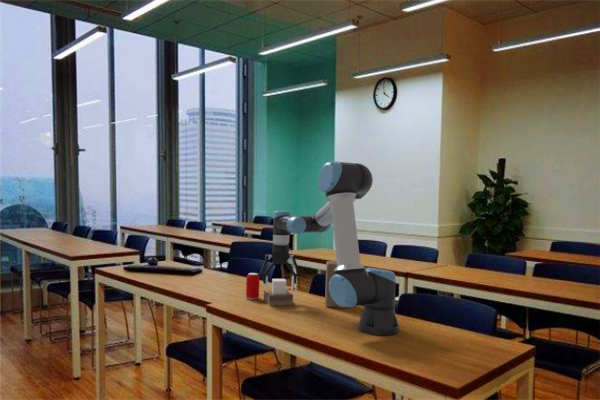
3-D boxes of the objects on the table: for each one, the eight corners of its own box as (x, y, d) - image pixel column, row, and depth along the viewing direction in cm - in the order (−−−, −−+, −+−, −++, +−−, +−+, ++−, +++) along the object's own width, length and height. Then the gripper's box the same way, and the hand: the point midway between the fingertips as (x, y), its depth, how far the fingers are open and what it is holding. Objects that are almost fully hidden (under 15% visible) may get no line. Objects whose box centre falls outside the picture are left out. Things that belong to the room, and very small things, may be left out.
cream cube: (285, 294, 210) (286, 281, 210) (272, 294, 209) (273, 281, 209) (284, 291, 216) (284, 278, 216) (271, 291, 215) (272, 278, 215)
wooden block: (347, 308, 206) (349, 264, 206) (325, 307, 206) (327, 263, 206) (346, 303, 216) (347, 261, 216) (324, 302, 216) (326, 260, 216)
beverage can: (254, 300, 215) (255, 275, 215) (243, 298, 218) (244, 273, 218) (261, 298, 221) (262, 273, 221) (250, 296, 224) (251, 272, 224)
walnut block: (292, 305, 210) (293, 294, 210) (269, 306, 206) (269, 295, 206) (285, 300, 220) (286, 289, 220) (263, 301, 217) (263, 290, 217)
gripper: (305, 243, 217) (303, 289, 218) (254, 242, 214) (253, 288, 214) (307, 245, 210) (306, 292, 210) (255, 244, 207) (254, 292, 207)
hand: (279, 290), depth 212 cm, fingers open, 11 cm apart
